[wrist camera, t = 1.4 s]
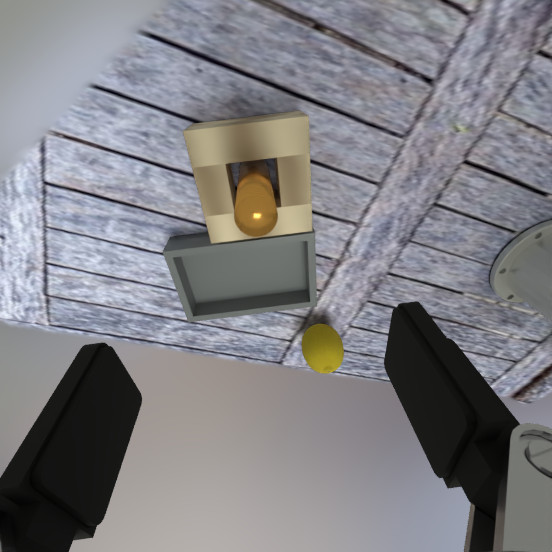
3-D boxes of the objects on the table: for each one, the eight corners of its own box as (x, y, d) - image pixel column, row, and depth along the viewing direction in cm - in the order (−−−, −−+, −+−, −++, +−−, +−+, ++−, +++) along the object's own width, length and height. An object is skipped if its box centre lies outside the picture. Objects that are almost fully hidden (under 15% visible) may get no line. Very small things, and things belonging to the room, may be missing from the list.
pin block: (299, 110, 27) (308, 115, 23) (304, 212, 33) (312, 230, 29) (193, 123, 27) (182, 131, 23) (216, 222, 33) (211, 243, 28)
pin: (266, 154, 29) (275, 192, 19) (270, 184, 31) (279, 234, 21) (237, 158, 29) (230, 198, 19) (242, 188, 31) (238, 239, 21)
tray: (309, 219, 33) (314, 232, 30) (311, 289, 39) (316, 306, 36) (170, 236, 33) (162, 251, 30) (193, 304, 39) (188, 322, 36)
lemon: (292, 321, 42) (299, 366, 35) (327, 306, 41) (342, 350, 34) (306, 344, 45) (316, 390, 38) (340, 331, 44) (356, 376, 37)
